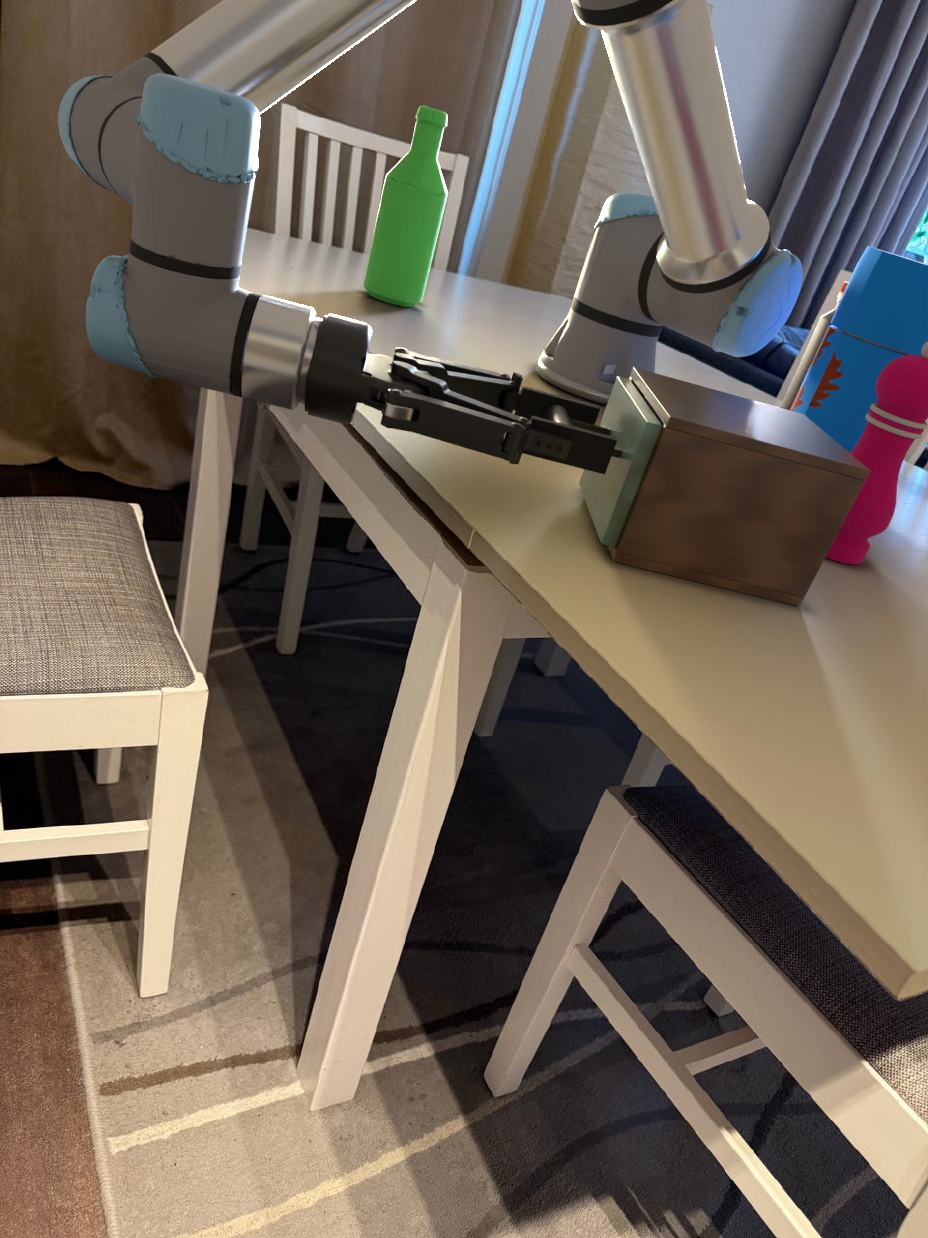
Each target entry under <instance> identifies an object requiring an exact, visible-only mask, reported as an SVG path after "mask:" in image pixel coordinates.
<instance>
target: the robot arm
mask: <svg viewBox="0 0 928 1238" xmlns="http://www.w3.org/2000/svg"><path fill="white" fill-rule="evenodd" d="M416 1H417V0H221V1H220V2H218V3H217V4H216V5H214V6H213V7H211V8H210V9H208V10H207V11H206V12H204V13H203V14H201V15H200V16H198V17H197V18H196V19H194V20H193V21H192V22H190V23H189V24H187V25H186V26H185V27H183V28H182V29H180V30H179V31H178V32H176V33H174V34H173V35H172V36H171V37H168V38H167V39H166V40H165V41H163V42H162V43H161V44H158V45H157V46H156V47H155V48H153V49H152V50H151V51H150V52H148V53H146V54H145V55H143V56H141V57H140V58H138V59H136V60H135V61H133V62H132V63H130V64H129V65H128V66H126V67H125V68H124V69H122V70H121V71H120V72H118V73H117V74H115V75H112V74H108V75H106V74H99V75H98V74H97V75H92V76H91V75H89V76H85V77H83V78H81V79H79V80H77V81H75V82H74V83H73V84H72V85H71V86H70V87H69V88H68V89H67V90H66V92H65V93H64V94H63V97H62V99H61V101H60V104H59V108H58V114H57V125H58V132H59V136H60V140H61V142H62V145H63V147H64V149H65V152H66V153H67V155H68V157H69V158H70V159H71V160H72V161H73V162H74V164H75V165H77V167H78V168H79V169H80V170H81V171H82V172H83V174H84V175H85V176H86V177H87V178H90V179H91V180H92V181H93V182H94V184H95V185H97V186H99V187H101V188H102V189H104V190H107V191H110V192H112V193H113V194H115V195H117V196H118V197H120V198H121V199H123V200H124V201H125V202H126V203H128V204H129V205H131V206H132V222H131V235H130V236H131V237H130V239H129V248H128V253H127V254H126V255H122V256H120V255H115V254H114V255H108V256H105V257H104V258H103V259H102V260H101V261H100V262H99V263H98V265H97V266H96V268H95V270H94V273H93V275H92V277H91V281H90V291H89V295H88V297H87V301H86V307H85V329H86V336H87V339H88V343H89V345H90V347H91V349H92V351H93V352H94V353H95V355H96V356H98V357H99V358H100V359H101V360H103V361H105V362H108V363H110V364H114V365H117V366H120V367H124V368H127V369H130V370H133V371H136V372H139V373H143V374H146V375H147V376H148V377H150V378H154V379H157V380H158V379H164V380H168V381H172V382H176V383H180V384H185V385H189V386H194V387H198V388H201V389H206V390H209V391H214V392H219V393H223V394H226V395H232V396H234V397H238V398H243V399H247V400H250V401H256V402H257V407H258V408H259V409H261V410H265V411H266V410H269V409H270V408H271V406H275V407H279V408H281V409H287V410H291V411H295V409H297V408H298V407H299V404H300V405H304V411H305V412H307V416H311V417H315V418H319V419H322V420H327V421H331V422H335V423H338V424H342V425H348V424H351V423H352V422H353V421H354V419H355V414H356V411H357V406H358V404H362V405H364V406H367V407H370V408H372V409H375V410H377V411H380V412H381V414H382V415H381V419H380V425H381V426H382V427H385V428H386V429H393V430H398V431H402V432H403V431H404V432H408V433H414V434H417V435H421V436H425V437H427V438H430V439H434V440H437V441H441V442H444V443H446V444H447V443H448V444H451V445H455V446H457V447H460V448H464V449H468V450H471V451H474V452H478V453H481V454H483V455H484V454H485V455H488V456H491V457H494V458H497V459H498V458H499V459H500V460H501V459H502V460H504V461H506V462H508V463H509V464H511V465H519V464H520V462H521V458H522V456H523V454H524V455H527V456H531V457H535V458H539V459H541V460H547V461H550V462H554V463H558V464H562V465H567V466H569V467H573V468H577V469H581V470H584V469H585V470H589V471H593V472H597V473H601V474H605V473H606V470H607V467H608V465H609V462H610V459H611V457H612V454H613V451H614V448H615V446H616V443H617V439H616V437H612V436H608V435H604V434H601V433H597V432H593V431H589V430H585V429H582V428H578V427H574V426H570V425H566V424H563V423H559V422H555V421H551V420H547V419H544V418H543V415H544V412H545V410H546V409H547V408H548V407H550V406H552V405H561V406H563V407H564V408H565V409H566V411H567V413H568V415H569V417H570V418H573V419H577V420H581V421H585V422H588V423H592V424H596V422H597V419H598V417H599V414H600V411H601V408H600V406H599V405H595V404H592V403H588V402H584V401H581V400H576V399H573V398H569V397H567V396H563V395H558V394H555V393H552V392H548V391H544V390H540V389H537V388H536V389H535V388H532V387H528V386H526V385H525V386H524V385H522V383H523V380H524V375H523V374H521V373H519V372H514V371H513V372H512V375H509V374H507V373H505V372H496V371H492V370H489V369H484V368H480V367H476V366H471V365H467V364H463V363H458V362H454V361H452V360H451V361H450V360H446V359H442V358H437V357H434V356H429V355H426V354H425V355H424V354H422V353H421V354H420V353H418V352H416V351H412V350H409V349H407V348H405V347H403V346H402V347H401V346H400V347H395V349H394V353H393V356H392V355H387V354H382V353H381V354H380V353H374V352H371V351H370V347H371V343H372V338H373V329H372V326H371V325H370V324H368V323H367V322H364V321H359V320H356V319H352V318H349V317H346V316H341V315H338V314H334V313H331V312H329V313H328V315H327V314H324V316H323V317H322V318H320V317H317V316H318V314H317V312H316V310H315V308H314V307H312V306H307V305H304V304H299V303H296V302H293V301H289V300H285V299H281V298H277V297H274V296H269V295H265V294H260V293H255V292H250V291H249V290H247V289H243V288H241V287H240V286H239V284H240V276H241V273H242V267H243V264H242V263H243V255H244V250H245V245H246V237H247V231H248V225H249V219H250V213H251V208H252V207H251V206H252V200H253V196H254V189H255V181H256V177H257V175H258V171H259V168H260V165H259V156H258V153H259V141H260V130H261V116H260V115H261V114H262V113H264V112H265V111H267V110H268V109H269V108H271V107H272V106H273V105H275V104H277V102H279V101H280V100H281V99H283V98H284V97H286V96H287V95H288V94H291V92H292V91H294V90H296V88H298V87H299V86H301V85H302V84H304V83H305V82H306V81H307V80H309V79H311V78H312V77H313V76H314V75H316V74H317V73H319V72H320V71H321V70H323V69H324V68H326V67H327V66H328V65H330V64H331V63H332V62H334V61H335V60H336V59H338V58H339V57H340V56H342V55H343V54H345V53H346V52H347V51H349V50H351V48H353V47H354V46H355V45H357V44H359V43H360V42H361V41H363V40H364V39H365V38H367V37H368V36H369V35H371V34H372V33H374V32H375V31H376V30H378V29H379V28H380V27H382V26H383V25H384V24H386V23H387V22H389V21H390V20H391V19H393V18H394V17H395V16H397V15H398V14H399V13H401V12H402V11H404V10H405V9H406V8H407V7H409V6H411V5H412V4H414V3H415V2H416ZM570 2H571V4H572V7H573V11H574V14H575V16H576V18H577V20H578V21H579V22H580V24H581V25H583V26H585V27H586V28H587V27H588V28H590V29H593V30H597V31H600V32H601V35H602V38H603V41H604V45H605V48H606V51H607V54H608V57H609V60H610V64H611V67H612V71H613V74H614V76H615V81H616V84H617V87H618V89H619V93H620V97H621V100H622V104H623V106H624V108H625V109H624V110H625V112H626V115H627V118H628V121H629V125H630V128H631V131H632V134H633V138H634V141H635V144H636V147H637V151H638V154H639V157H640V161H641V163H642V166H643V170H644V173H645V176H646V179H647V183H648V187H649V190H650V192H651V195H647V194H640V193H634V192H625V191H624V192H623V191H622V192H621V191H620V192H616V193H613V194H611V196H609V197H608V198H607V199H606V201H605V202H604V204H603V207H602V210H601V212H600V215H599V218H598V220H597V222H596V223H595V225H594V228H593V233H592V235H591V239H590V243H589V246H588V248H587V252H586V254H585V255H586V256H585V259H584V263H583V266H582V269H581V271H580V275H579V279H578V282H577V284H576V289H575V292H574V296H573V299H572V302H571V305H570V308H569V311H568V314H567V316H566V317H565V319H564V320H563V322H562V323H561V325H560V326H559V328H558V329H557V331H555V334H554V335H553V336H552V338H551V339H550V340H549V342H548V343H547V345H546V347H545V348H544V349H543V351H542V353H541V354H540V357H539V359H538V362H537V365H536V368H535V371H536V373H537V374H538V375H539V376H540V378H542V379H543V380H545V381H546V382H547V383H549V384H551V385H553V386H555V387H557V388H559V389H561V390H563V391H565V392H568V393H570V394H572V395H574V396H578V397H580V398H583V399H586V400H589V401H592V402H596V403H599V404H602V405H606V406H607V403H608V400H609V398H610V395H611V392H612V389H613V386H614V384H615V381H616V378H617V376H619V377H623V378H626V379H629V378H630V375H631V372H632V369H633V367H635V368H638V369H642V370H646V371H649V372H653V373H656V357H657V356H656V355H657V345H658V340H659V338H660V334H661V332H662V329H663V327H665V328H668V329H669V330H671V331H674V332H676V333H679V334H681V335H682V336H686V337H687V338H690V339H693V340H694V341H697V342H698V343H701V344H703V345H705V346H706V347H709V348H711V349H712V350H713V351H714V352H716V353H723V354H726V355H729V356H732V357H733V358H744V357H749V356H752V355H754V354H756V353H758V352H759V351H760V350H762V349H763V348H765V347H766V345H768V344H769V343H770V342H771V341H772V340H773V339H774V338H775V337H776V336H777V335H778V333H779V332H780V330H781V329H782V327H783V326H784V325H785V323H786V322H787V321H788V319H789V317H790V315H791V313H792V312H793V308H795V305H796V303H797V300H798V297H799V295H800V292H801V288H802V284H803V277H804V276H803V275H804V270H803V269H804V268H803V265H802V262H801V260H800V258H799V257H798V256H796V255H795V254H793V253H792V252H791V251H790V250H789V249H779V248H777V247H776V246H775V244H774V242H773V236H772V232H771V226H770V221H769V218H768V216H767V213H766V212H765V210H764V209H763V208H762V206H760V205H759V204H757V203H756V202H755V201H752V200H749V198H748V192H747V189H746V183H745V180H744V179H745V178H744V174H743V170H742V169H743V168H742V165H741V160H740V155H739V150H738V145H737V140H736V137H735V136H736V135H735V131H734V130H735V129H734V126H733V121H732V117H731V112H730V107H729V102H728V97H727V92H726V88H725V84H724V79H723V73H722V68H721V63H720V60H719V55H718V48H717V45H716V40H715V34H714V30H713V25H712V22H711V21H712V19H711V16H710V12H709V7H708V2H707V0H570ZM521 387H522V388H521Z"/></svg>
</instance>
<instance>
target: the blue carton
mask: <svg viewBox="0 0 928 1238" xmlns="http://www.w3.org/2000/svg"><path fill="white" fill-rule="evenodd" d="M848 282H849V283H848V285H847V287H846V289H845V291H844V294H843V296H842V298H841V300H840V302H839V305H838V307H837V309H836V311H835V313H834V315H833V318H832V320H831V322H830V323H831V324H832V325H829V326H828V329H827V331H826V333H825V335H824V337H823V339H822V342H821V344H820V346H819V348H818V350H817V352H816V355H815V357H814V359H813V361H812V363H811V366H810V368H809V370H808V372H807V374H806V376H805V379H804V381H803V383H802V385H801V387H800V389H799V392H798V394H797V396H796V398H795V400H794V403H793V405H792V407H791V409H790V411H794V412H797V413H801V414H804V415H805V416H806V417H808V418H809V419H810V420H811V421H812V422H813V423H815V424H816V425H817V426H818V427H819V428H821V429H822V430H823V431H824V432H825V433H827V434H828V435H829V436H830V437H831V438H832V439H834V440H835V441H836V442H837V443H838V444H840V445H841V446H842V447H843V448H844V449H845V450H847V451H848V452H849V453H850V452H851V451H852V450H853V449H854V448H855V446H856V445H857V443H858V441H859V440H860V438H861V436H862V435H863V432H864V430H865V427H866V425H867V423H868V420H867V419H866V418H865V416H866V414H868V413H869V411H870V410H871V408H870V406H871V404H874V403H877V402H878V397H877V393H876V382H877V379H878V377H879V375H880V373H881V372H882V370H883V369H884V368H885V367H886V366H887V365H888V364H889V363H890V362H891V361H893V360H895V359H896V358H899V357H902V356H908V355H918V356H922V354H921V350H922V347H923V345H924V344H925V343H926V342H928V264H927V263H924V262H921V261H918V260H915V259H912V258H908V257H905V256H902V255H899V254H896V253H892V252H889V251H886V250H883V249H879V248H876V247H873V246H869V245H867V246H866V248H865V250H864V251H863V253H862V255H861V257H860V258H859V260H858V262H857V263H856V266H855V267H854V269H853V272H852V274H851V277H850V279H849V281H848Z"/></svg>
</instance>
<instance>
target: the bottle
mask: <svg viewBox="0 0 928 1238" xmlns="http://www.w3.org/2000/svg"><path fill="white" fill-rule="evenodd" d="M415 119H416V121H415V126H414V131H413V135H412V140H411V145H410V149H409V150H408V152H406V154H404V155H403V157H402V158H401V159H400V160H399V161H398V162H397V163H396V164H394V166H393V167H392V168H391V169H390V170H389V171H388V172H387V173H386V174H385V177H384V182H383V187H382V191H381V196H380V200H379V206H378V211H377V215H376V221H375V224H374V230H373V235H372V239H371V243H370V244H371V245H370V250H369V254H368V255H369V256H368V260H367V265H366V269H365V274H364V279H363V287H364V289H365V291H366V293H367V294H368V295H369V296H371V297H372V298H374V299H376V300H379V301H381V302H384V303H387V304H391V305H396V306H399V307H400V306H401V307H405V308H412V307H415V306H416V305H418V304H420V303H422V302H423V300H424V295H425V291H426V287H427V283H428V279H429V275H430V270H431V267H432V263H433V259H434V254H435V251H436V247H437V246H436V245H437V242H438V237H439V234H440V229H441V226H442V221H443V216H444V212H445V209H446V204H447V200H448V195H449V191H448V189H447V185H446V182H445V178H444V176H443V173H442V169H441V166H440V163H439V160H438V158H439V154H440V153H439V152H440V148H441V144H442V140H443V135H444V131H445V128H446V127H448V114H447V113H446V111H443V110H440V109H436V108H435V107H434V108H433V107H430V106H426V105H420V106H419V107H418V109H417V112H416V114H415Z"/></svg>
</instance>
